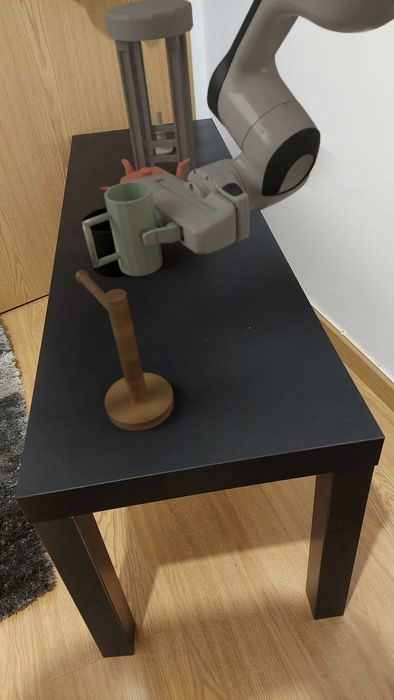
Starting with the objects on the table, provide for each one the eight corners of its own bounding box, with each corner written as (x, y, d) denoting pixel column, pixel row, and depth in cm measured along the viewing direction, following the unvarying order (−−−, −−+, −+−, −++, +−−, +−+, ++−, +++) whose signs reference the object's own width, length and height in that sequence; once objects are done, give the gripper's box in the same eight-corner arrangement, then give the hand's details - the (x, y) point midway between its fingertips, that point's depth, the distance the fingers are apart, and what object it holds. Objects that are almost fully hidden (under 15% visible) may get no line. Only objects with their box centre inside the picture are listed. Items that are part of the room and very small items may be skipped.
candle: (152, 149, 135) (146, 107, 128) (171, 146, 135) (166, 104, 128) (154, 156, 131) (148, 114, 124) (174, 153, 131) (169, 111, 124)
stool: (199, 203, 109) (184, 10, 86) (129, 204, 112) (96, 17, 88) (207, 173, 121) (195, -5, 97) (143, 175, 123) (116, 1, 99)
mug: (128, 287, 88) (119, 241, 82) (81, 267, 94) (70, 223, 88) (163, 262, 93) (157, 217, 87) (117, 244, 99) (108, 201, 93)
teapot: (109, 237, 102) (98, 185, 94) (130, 204, 112) (121, 154, 105) (180, 239, 99) (174, 186, 91) (194, 205, 109) (190, 154, 102)
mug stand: (186, 408, 67) (171, 298, 55) (126, 442, 63) (96, 332, 51) (129, 345, 77) (106, 240, 65) (75, 372, 73) (39, 266, 61)
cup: (149, 247, 76) (137, 177, 69) (170, 265, 72) (160, 192, 65) (87, 272, 73) (68, 200, 65) (106, 292, 69) (88, 218, 61)
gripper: (172, 155, 79) (91, 182, 73) (255, 199, 65) (164, 236, 60) (176, 194, 83) (100, 222, 78) (255, 242, 70) (170, 280, 65)
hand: (128, 228), depth 69 cm, fingers closed on cup, 6 cm apart
